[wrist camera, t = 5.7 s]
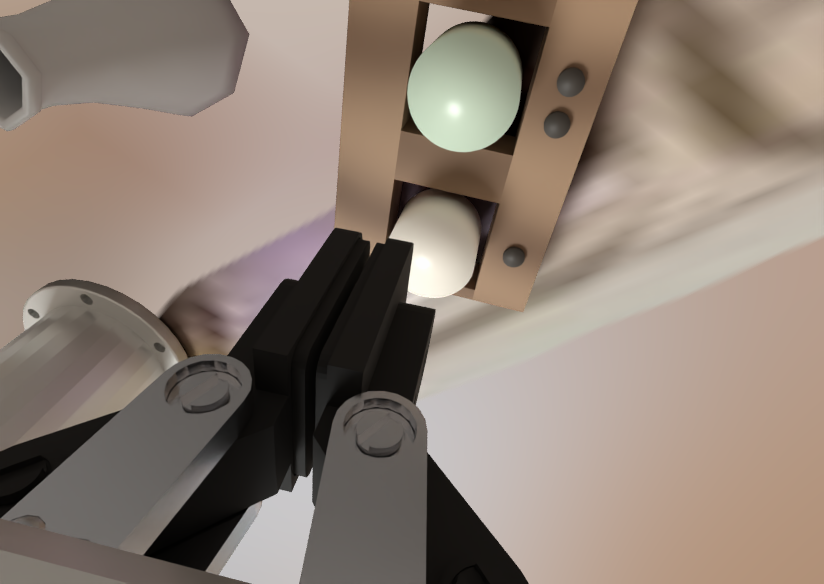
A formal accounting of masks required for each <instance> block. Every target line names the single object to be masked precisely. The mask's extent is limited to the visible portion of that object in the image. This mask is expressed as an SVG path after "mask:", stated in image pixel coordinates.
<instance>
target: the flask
mask: <svg viewBox="0 0 824 584" xmlns="http://www.w3.org/2000/svg"><path fill="white" fill-rule="evenodd" d="M248 37H249V33H248V31H247V30H246V28H245V26H244V24H243V22H242V21H241V19H240V17H239V16H238V14H237V12H236V10H235V8H234V7H233V5H232V3H231V1H230V0H51V1H49V2H46V3H44V4H42V5H39V6H37V7H34V8H32V9H30V10H27V11H25V12H23V13H20V14H17V15H11V16H5V17H0V128H2V129H4V130H6V131H11V130H14V129H15V128H17V127H18V126H20V125H21V124H23V123H24V122H26V121H27V120H29V119H30V118H31V117H33V116H34V115H36V114H37V113H38V112H40V111H41V109H44V108H48V107H51V106H56V105H68V104H80V103H93V102H94V103H102V104H111V105H119V106H127V107H136V108H143V109H149V110H155V111H160V112H166V113H172V114H178V115H184V116H194V115H195V114H197V113H199V112H200V111H202V110H204V109H206V108H208V107H210V106H211V105H213V104H215V103H217V102H218V101H220V100H222V99H223V98H226V97H227V96H229V95H231V94H233V93H234V91H235V86H236V83H237V79H238V75H239V71H240V67H241V64H242V60H243V56H244V52H245V48H246V44H247V41H248Z"/></svg>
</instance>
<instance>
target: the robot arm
mask: <svg viewBox="0 0 824 584" xmlns="http://www.w3.org/2000/svg"><path fill="white" fill-rule="evenodd" d="M413 247H414V243H412V242H407V241H402V240H397V239H392V238H388V239H387V240H386V242H385V244H382V243H376V245H375V247H374V249H373V251H372V253H371V255H370V241H367V240H363V237H362V233H361V232H357V231H352V230H347V229H341V228H335V229H334V230H333V231H332V233H331V234H330V236H329V237H328V238H327V240H326V241H325V243H324V244H323V246H322V247H321V249H320V250H319V252H318V253H317V254H316V256H315V257H314V259H313V260H312V262H311V263H310V265H309V266H308V268H307V269H306V270H305V272H304V273H303V275H302V276H301V278H300V279H299V281H297V280H292V279H284V280H283V281H282V282H281V283H280V285H279V286H278V287H277V289H276V290H275V292H274V293H273V294H272V296H271V297H270V298H269V300H268V301H267V302H266V304H265V305H264V306H263V308H262V309H261V311H260V312H259V313H258V315H257V316H256V317H255V319H254V320H253V321H252V323H251V324H250V325H249V327H248V328H247V330H246V331H245V332H244V334H243V335H242V336H241V338H240V339H239V340H238V342H237V343H236V345H235V346H234V347H233V349H232V350H231V351H230V353H229V354H228V355H227V356H225V355H220V354H204V355H199V356H194V357H190V358H188V357H187V355H186V352H185V351H184V349H183V347H182V346H181V344H180V342H179V341H178V339H177V338H176V337H175V336H174V334H173V333H172V332H171V331H170V330H169V328H168V327H167V326H166V325H165V324H164V323H163V322H162V321H161V320H160V319H158V318H157V317H156V316H155V315H154V314H153V313H152V312H150V311H149V310H148V309H146V308H145V307H144V306H142V305H141V304H140V303H138V302H136V301H134V300H133V299H131V298H129V297H128V296H126V295H124V294H122V293H120V292H118V291H115V290H113V289H111V288H109V287H106V286H103V285H100V284H96V283H93V282H89V281H82V280H75V279H70V280H58V281H55V282H51V283H48V284H47V285H46V286H44V287H42V288H41V289H39V290H38V291H36V292H35V293H34V294H33V295H32V296H31V297H30V298H29V299H27V301H26V304H25V305H24V309H23V323H24V329H25V331H24V332H23V333H21V334H20V335H19V336H18V337H16V338H15V339H14V340H12V341H11V342H10V343H8V344H7V345H6V346H4V347H3V348H2V349H0V584H250V583H246V582H243V581H239V580H235V579H231V578H227V577H223V576H219V573H220V572H221V570H222V569H223V567H224V566H225V564H226V563H227V561H228V559H229V558H230V556H231V555H232V554H233V552H234V550H235V549H236V547H237V546H238V544H239V543H240V541H241V540H242V538H243V537H244V535H245V534H246V532H247V531H248V529H249V527H250V526H251V524H252V523H253V521H254V520H255V518H256V517H257V515H258V512H259V510H260V508H261V506H262V500H264V499H267V498H269V497H271V496H273V495H275V494H277V493H278V491H279V489H281V490H285V491H289V492H292V490H293V488H294V485H295V483H296V481H297V479H298V476H304V477H307V476H308V475H309V474H310V471H311V469H312V467H313V494H312V495H313V496H312V497H313V498H312V502H313V504H314V506H315V510H314V515H313V519H312V524H311V529H310V534H309V539H308V544H307V548H306V553H305V558H304V563H303V568H302V573H301V578H300V582H299V584H528V582H527V580H526V578H525V577H524V575H523V573H522V572H521V570H520V569H519V568H518V566H517V565H516V564H515V563H514V561H513V560H512V559H511V558H510V556H509V555H508V554H507V553H506V551H505V550H504V549H503V547H502V546H501V545H500V544H499V542H498V541H497V540H496V539H495V537H494V536H493V535H492V534H491V533H490V531H489V530H488V529H487V527H486V526H485V525H484V523H483V522H482V521H481V520H480V519H479V517H478V516H477V515H476V513H475V512H474V511H473V510H472V508H471V507H470V506H469V505H468V503H467V502H466V501H465V499H464V498H463V497H462V496H461V494H460V493H459V492H458V491H457V489H456V488H455V487H454V486H453V484H452V483H451V482H450V480H449V479H448V478H447V477H446V475H445V474H444V473H443V472H442V470H441V469H440V468H439V467H438V465H437V464H436V463H435V462H434V460H433V459H432V458H431V456H430V455H429V454H428V453H427V428H426V427H427V426H426V421H425V418H424V417H423V415H422V414H421V411H420V410H419V408H418V407H416V402H417V397H418V393H419V389H420V385H421V380H422V376H423V372H424V367H425V363H426V358H427V353H428V348H429V343H430V338H431V333H432V328H433V322H434V317H435V310H436V309H431V308H427V307H422V306H417V305H412V304H407V303H406V298H407V291H408V284H409V277H410V270H411V263H412V256H413Z"/></svg>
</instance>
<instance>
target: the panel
mask: <svg viewBox="0 0 824 584" xmlns="http://www.w3.org/2000/svg"><path fill="white" fill-rule="evenodd" d="M637 2H638V0H349V16H348V30H347V45H346V61H345V76H344V91H343V105H342V120H341V121H342V122H341V136H340V151H339V166H338V182H337V196H336V211H335V226H334V229H335V228H341V229H347V230H352V231H357V232H361V233H362V237H363V240H367V241H370V255H371V253H372V251H373V249H374V247H375V245H376V243H382V244H385V242H386V240H387V239H388V238H389V237H390V235H391V233H392V231H393V229H394V227H395V225H396V223H397V216H398V209H399V203H400V196H401V189H402V183H403V181H404V182H408V183H413V184H417V185H421V186H426V187H430V188H434V189H439V190H443V191H447V192H452V193H456V194H460V195H465V196H469V197H473V198H478V199H482V200H486V201H491V202H495V203H497V204H496V208H495V211H494V215H493V218H492V222H491V225H490V229H489V232H488V236H487V240H486V243H485V247H484V250H483V254H482V257H481V261H480V264H477V263H475V266H474V271H473V274H472V277H471V278H470V280H469V282H468V283H467V284H466V285H465V286H464V287H463V288H462V289H461V290H459V291H458V292H456V293H454V294H452V295H456V296H460V297H464V298H468V299H472V300H476V301H480V302H484V303H488V304H492V305H496V306H500V307H504V308H508V309H512V310H516V311H520V312H523V311H524V308H525V306H526V303H527V300H528V297H529V295H530V292H531V289H532V287H533V284H534V281H535V278H536V276H537V273H538V270H539V268H540V265H541V262H542V259H543V257H544V254H545V251H546V249H547V246H548V243H549V241H550V238H551V235H552V232H553V230H554V227H555V224H556V222H557V219H558V216H559V213H560V211H561V208H562V205H563V203H564V200H565V197H566V194H567V192H568V189H569V186H570V184H571V181H572V178H573V176H574V173H575V170H576V167H577V165H578V162H579V159H580V157H581V154H582V151H583V148H584V146H585V143H586V140H587V138H588V135H589V132H590V129H591V127H592V124H593V121H594V119H595V116H596V113H597V110H598V108H599V105H600V102H601V100H602V97H603V94H604V92H605V89H606V86H607V83H608V81H609V78H610V75H611V73H612V70H613V67H614V64H615V62H616V59H617V56H618V54H619V51H620V48H621V45H622V43H623V40H624V37H625V35H626V32H627V29H628V27H629V24H630V21H631V18H632V16H633V13H634V10H635V8H636V5H637ZM430 3H433V4H437V5H442V6H447V7H452V8H457V9H462V10H467V11H472V12H477V13H482V14H487V15H492V16H497V17H502V18H507V19H511V20H516V21H521V22H526V23H531V24H536V25H541V26H546V29H545V33H544V36H543V40H542V43H541V47H540V51H539V54H538V58H537V61H536V65H535V68H534V72H533V76H532V79H531V83H530V86H529V90H528V93H527V97H526V101H525V104H524V108H523V111H522V115H521V118H520V122H519V125H518V129H517V133H516V136H515V137H513V136H509V135H503V136H502V137H500V138H499V139H498V140H497V141H496V142H494V143H493V144H491V145H489V146H487V147H485V148H483V149H480V150H476V151H472V152H455V151H450V150H447V149H444V148H441V147H439V146H437V145H436V144H434V143H432V142H431V141H430V140H429V139H427V138H426V137H425V136H424V135H423V134H422V133H421V131H420V130H419V129H418V127H417V126H416V124H415V122H414V120H413V118H412V116H411V113H410V109H409V105H408V96H407V91H408V82H409V77H410V74H411V71H412V69H413V67H414V65H415V63H416V61H417V60H418V58H419V57H420V56H421V54H422V50H423V44H424V37H425V30H426V24H427V17H428V10H429V4H430Z"/></svg>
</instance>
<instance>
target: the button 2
mask: <svg viewBox="0 0 824 584" xmlns="http://www.w3.org/2000/svg"><path fill="white" fill-rule="evenodd" d="M522 74H523V72H522V62H521V58H520V55H519V52H518V50H517V48H516V46H515V44H514V43H513V41H512V40H511V39H510V38H509V36H508V35H507V34H506V33H504V32H503V31H502V30H500V29H499V28H497V27H495V26H493V25H491V24H488V23H484V22H476V21H475V22H465V23H461V24H458V25H455V26H453V27H451V28H450V29H448V30H447V31H445V32H444V33H443V34H442V35H441V36H440V37H438V38H437V39H436V41H434V42H433V43H432V44H431V45H430V46H429V47H428V48H427V49H426V50H425V51H424V52H423V53H422V54H421V56H420V57H419V58H418V60H417V61H416V63H415V65H414V67H413V69H412V71H411V74H410V77H409V82H408V91H407V96H408V105H409V109H410V113H411V116H412V118H413V120H414V122H415V124H416V126H417V127H418V129H419V130H420V131H421V133H422V134H423V135H424V136H425V137H426V138H427V139H429V140H430V141H431V142H432V143H434V144H436V145H437V146H439V147H441V148H444V149H447V150H450V151H455V152H472V151H476V150H480V149H483V148H485V147H487V146H489V145H491V144H493V143H494V142H496V141H497V140H498V139H499V138H500V137H502V136H503V135H504V133H505V132H506V131H507V130H508V129H509V127H510V126H511V124H512V122H513V120H514V118H515V116H516V113H517V110H518V107H519V102H520V94H521V85H522Z"/></svg>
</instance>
